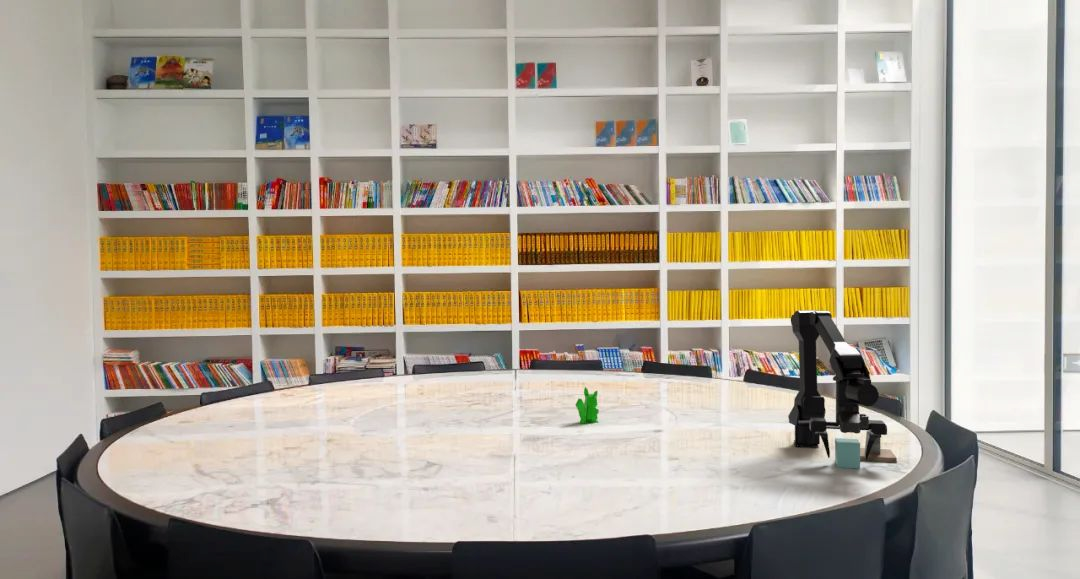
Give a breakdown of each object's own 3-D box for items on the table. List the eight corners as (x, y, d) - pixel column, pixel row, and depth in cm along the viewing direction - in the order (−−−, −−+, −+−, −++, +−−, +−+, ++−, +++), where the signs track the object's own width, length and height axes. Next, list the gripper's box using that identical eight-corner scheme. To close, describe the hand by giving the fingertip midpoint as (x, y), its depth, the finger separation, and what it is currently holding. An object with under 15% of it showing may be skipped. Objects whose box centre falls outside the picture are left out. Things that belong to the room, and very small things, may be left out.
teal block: (837, 467, 203) (837, 442, 203) (835, 462, 208) (835, 438, 208) (860, 468, 202) (860, 443, 201) (857, 463, 207) (857, 439, 207)
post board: (856, 460, 210) (856, 437, 210) (852, 451, 220) (852, 430, 219) (896, 462, 207) (896, 439, 207) (890, 453, 217) (890, 431, 217)
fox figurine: (603, 422, 265) (603, 387, 265) (584, 426, 259) (584, 390, 258) (590, 419, 270) (590, 385, 269) (571, 423, 263) (571, 388, 263)
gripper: (812, 403, 199) (812, 464, 200) (890, 406, 194) (890, 468, 195) (809, 396, 210) (809, 453, 210) (883, 399, 205) (883, 457, 206)
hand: (847, 458), depth 205 cm, fingers open, 9 cm apart
